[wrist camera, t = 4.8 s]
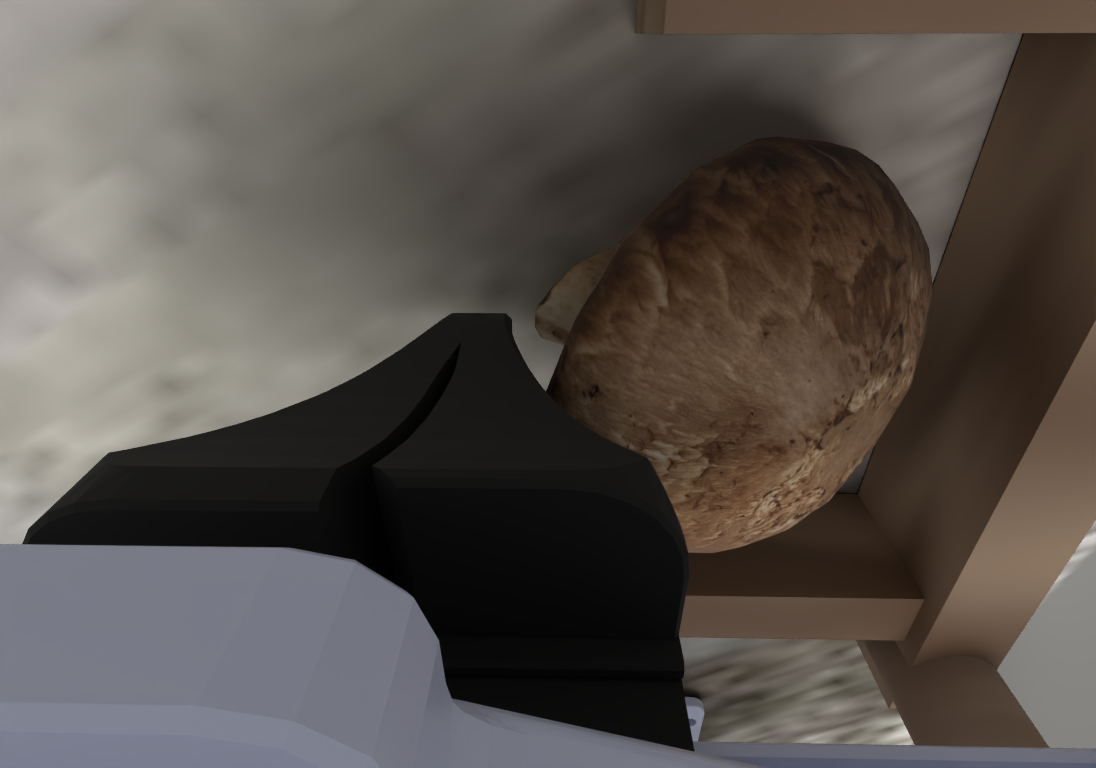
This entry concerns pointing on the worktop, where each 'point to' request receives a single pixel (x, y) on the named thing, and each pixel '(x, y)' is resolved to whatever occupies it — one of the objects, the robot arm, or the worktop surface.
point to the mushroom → (749, 334)
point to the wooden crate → (952, 398)
